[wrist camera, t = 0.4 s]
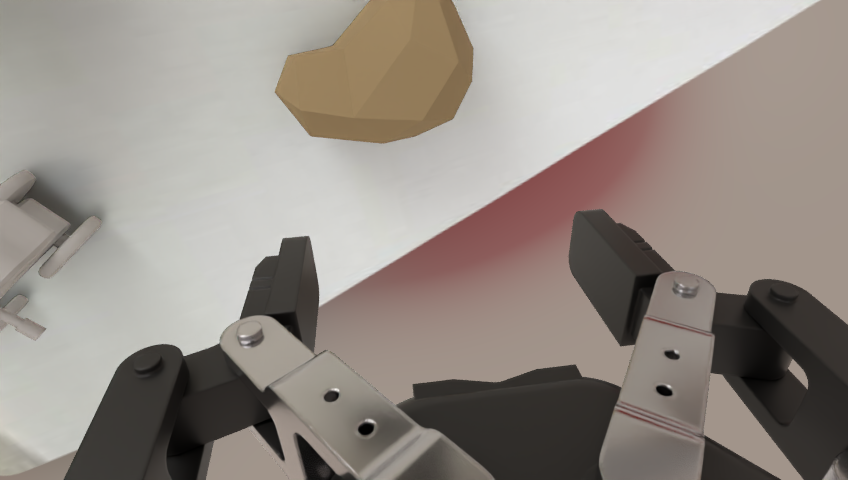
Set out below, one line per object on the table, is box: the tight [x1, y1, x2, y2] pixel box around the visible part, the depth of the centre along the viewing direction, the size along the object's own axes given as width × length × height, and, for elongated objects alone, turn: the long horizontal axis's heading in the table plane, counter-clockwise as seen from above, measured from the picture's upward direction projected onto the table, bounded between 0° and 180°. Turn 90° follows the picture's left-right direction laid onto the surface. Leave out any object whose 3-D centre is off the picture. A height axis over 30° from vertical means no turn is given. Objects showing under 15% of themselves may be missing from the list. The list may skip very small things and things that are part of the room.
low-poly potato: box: [275, 0, 473, 143], centre depth 35 cm, size 15×11×12 cm
